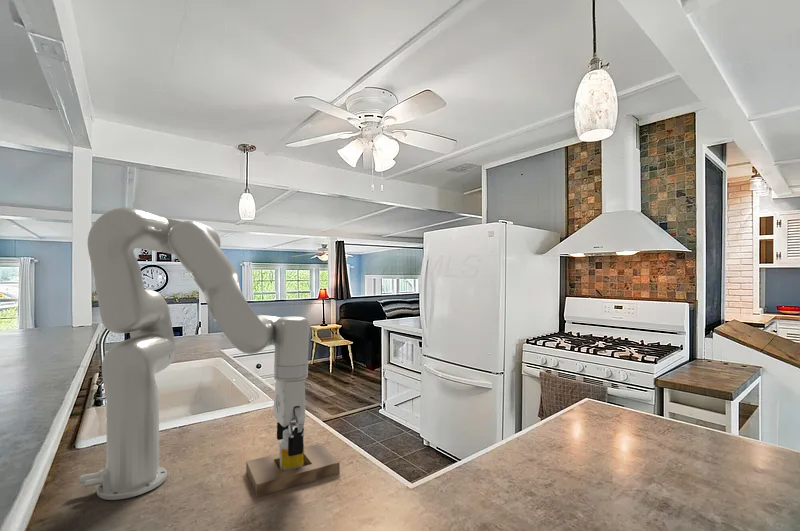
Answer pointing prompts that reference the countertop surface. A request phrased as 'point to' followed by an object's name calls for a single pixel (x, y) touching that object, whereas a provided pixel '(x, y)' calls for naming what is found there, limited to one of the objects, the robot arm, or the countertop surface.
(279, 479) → the frame
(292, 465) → the supplement bottle
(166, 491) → the countertop surface
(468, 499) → the countertop surface
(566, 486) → the countertop surface
